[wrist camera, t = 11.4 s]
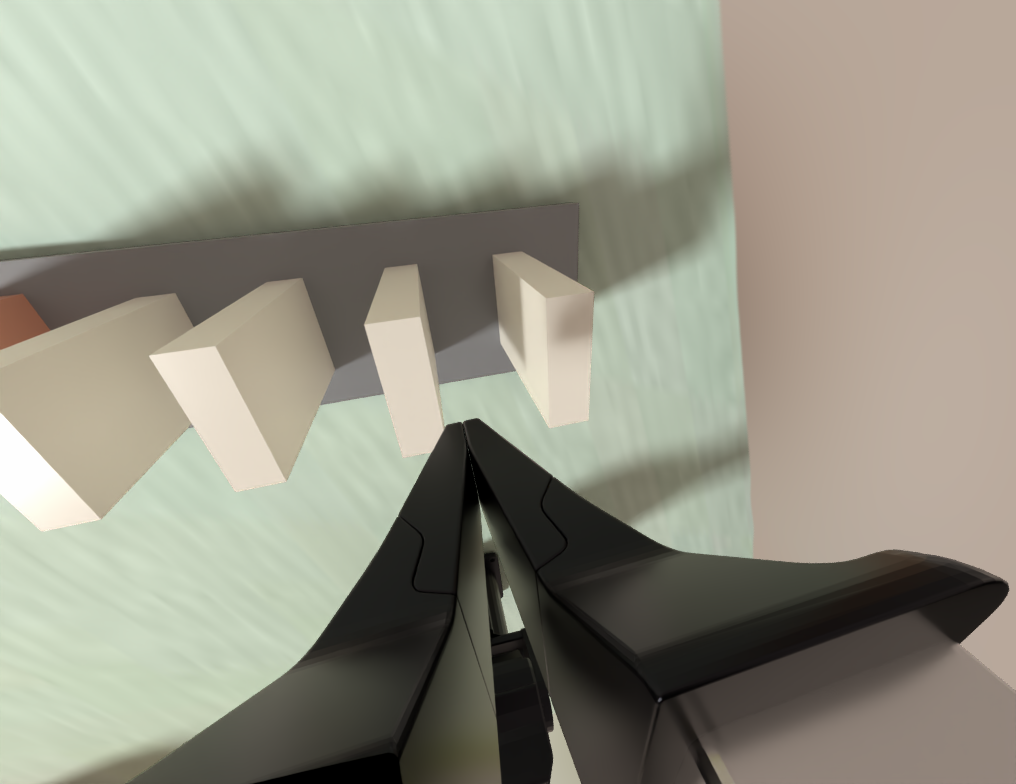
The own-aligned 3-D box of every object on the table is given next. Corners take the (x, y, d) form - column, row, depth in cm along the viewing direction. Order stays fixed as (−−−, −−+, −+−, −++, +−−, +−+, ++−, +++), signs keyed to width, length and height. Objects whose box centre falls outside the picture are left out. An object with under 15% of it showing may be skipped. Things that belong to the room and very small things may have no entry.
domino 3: (434, 353, 21) (447, 448, 13) (406, 358, 21) (402, 457, 13) (417, 263, 18) (420, 316, 11) (384, 267, 18) (364, 324, 10)
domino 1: (226, 387, 19) (101, 519, 11) (192, 392, 19) (41, 531, 11) (175, 293, 17) (-30, 381, 9) (135, 297, 16) (-110, 392, 9)
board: (570, 354, 24) (575, 360, 23) (42, 444, 19) (24, 456, 18) (571, 202, 19) (579, 203, 19) (-118, 272, 15) (-150, 277, 14)
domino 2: (335, 369, 20) (286, 481, 12) (304, 374, 20) (235, 492, 12) (302, 277, 17) (215, 345, 10) (266, 281, 17) (148, 355, 9)
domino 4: (526, 339, 22) (588, 420, 14) (500, 343, 21) (549, 428, 14) (521, 251, 19) (594, 291, 11) (492, 254, 19) (546, 298, 11)
